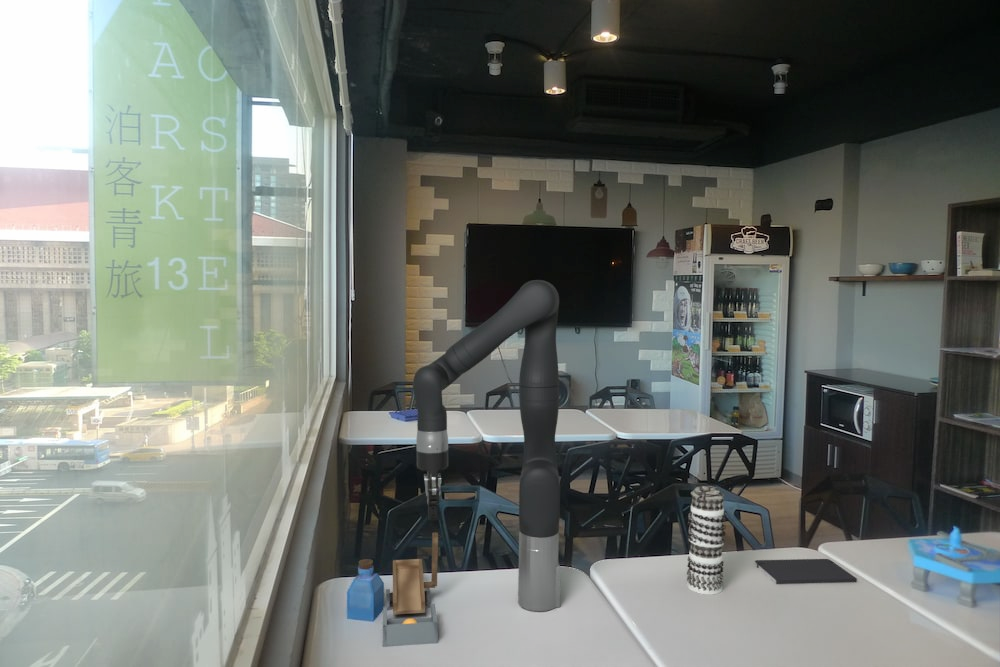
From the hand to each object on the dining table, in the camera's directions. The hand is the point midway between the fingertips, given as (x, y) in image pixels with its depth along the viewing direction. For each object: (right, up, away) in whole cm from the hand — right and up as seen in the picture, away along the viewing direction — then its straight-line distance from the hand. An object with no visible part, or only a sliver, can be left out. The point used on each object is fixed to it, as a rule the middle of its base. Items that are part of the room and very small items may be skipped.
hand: (433, 519), depth 164 cm
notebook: (+96, -19, +15) cm, 99 cm away
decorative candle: (+67, -19, +6) cm, 70 cm away
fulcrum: (-5, -18, -5) cm, 20 cm away
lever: (-4, -15, -5) cm, 16 cm away
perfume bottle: (-14, -19, -10) cm, 26 cm away
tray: (-3, -19, -18) cm, 27 cm away
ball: (-3, -17, -20) cm, 27 cm away
